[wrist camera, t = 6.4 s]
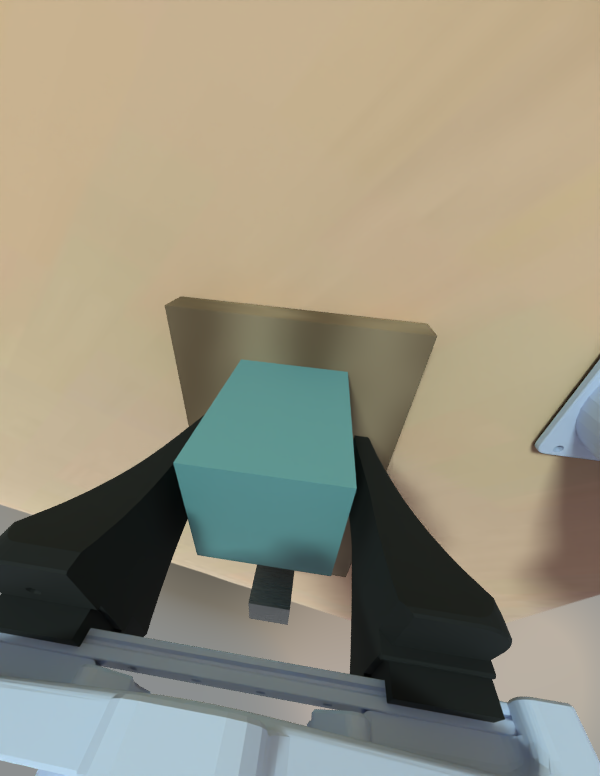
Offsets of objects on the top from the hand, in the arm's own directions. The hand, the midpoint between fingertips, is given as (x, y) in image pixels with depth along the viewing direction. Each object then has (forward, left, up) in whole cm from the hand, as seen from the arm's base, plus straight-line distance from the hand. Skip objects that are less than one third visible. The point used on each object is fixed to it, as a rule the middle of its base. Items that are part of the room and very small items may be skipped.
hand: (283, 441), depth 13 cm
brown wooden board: (0, +6, -4) cm, 8 cm away
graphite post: (0, +13, -2) cm, 13 cm away
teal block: (0, 0, -2) cm, 2 cm away
